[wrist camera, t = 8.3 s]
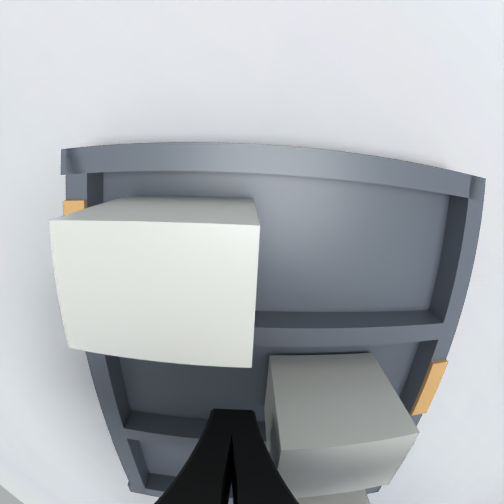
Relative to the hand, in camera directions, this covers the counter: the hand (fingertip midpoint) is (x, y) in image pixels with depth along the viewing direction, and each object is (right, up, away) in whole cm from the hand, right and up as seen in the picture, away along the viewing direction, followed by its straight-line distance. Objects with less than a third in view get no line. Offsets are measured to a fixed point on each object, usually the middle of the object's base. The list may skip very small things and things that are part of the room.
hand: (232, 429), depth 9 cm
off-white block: (+3, +1, +3) cm, 4 cm away
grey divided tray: (+1, +1, +4) cm, 4 cm away
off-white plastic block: (-1, +6, +1) cm, 6 cm away
